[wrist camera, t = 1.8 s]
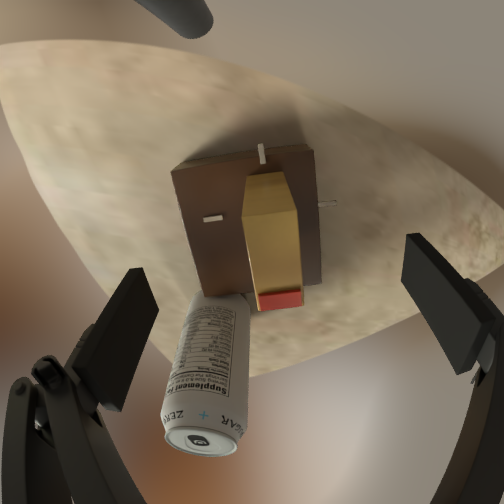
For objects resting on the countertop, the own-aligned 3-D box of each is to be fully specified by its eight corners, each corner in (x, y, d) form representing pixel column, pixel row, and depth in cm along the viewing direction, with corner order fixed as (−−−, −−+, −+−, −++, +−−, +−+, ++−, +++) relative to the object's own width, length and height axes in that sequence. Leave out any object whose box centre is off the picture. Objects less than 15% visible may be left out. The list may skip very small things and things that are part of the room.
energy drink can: (199, 329, 31) (174, 456, 17) (183, 284, 28) (140, 421, 15) (254, 324, 30) (253, 459, 17) (245, 277, 27) (236, 425, 14)
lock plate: (178, 152, 22) (166, 160, 19) (322, 131, 21) (331, 136, 18) (208, 278, 27) (203, 298, 25) (329, 263, 26) (337, 282, 24)
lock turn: (246, 175, 20) (240, 218, 13) (282, 171, 19) (297, 211, 13) (257, 246, 22) (258, 314, 15) (291, 242, 22) (305, 308, 15)
